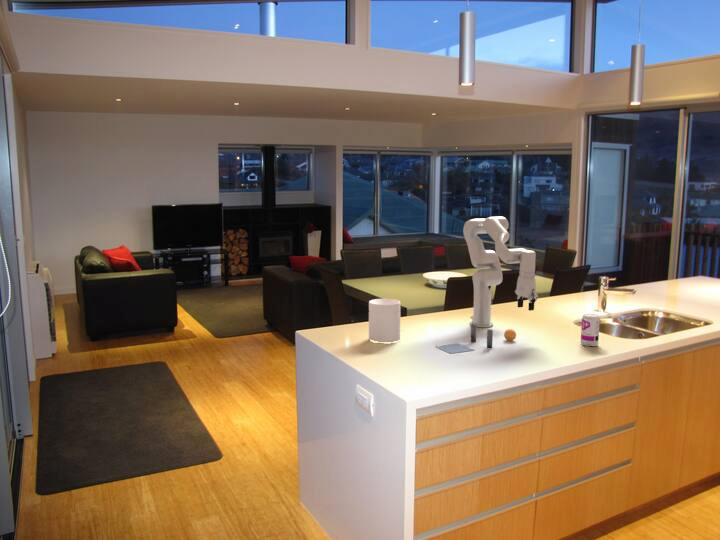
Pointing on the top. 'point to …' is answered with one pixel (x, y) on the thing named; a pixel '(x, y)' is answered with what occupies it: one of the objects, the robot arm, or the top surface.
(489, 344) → the post
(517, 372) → the top surface
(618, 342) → the top surface
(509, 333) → the ball
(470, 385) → the top surface
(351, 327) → the top surface
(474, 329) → the post
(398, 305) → the canister
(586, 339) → the supplement can
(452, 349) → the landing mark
